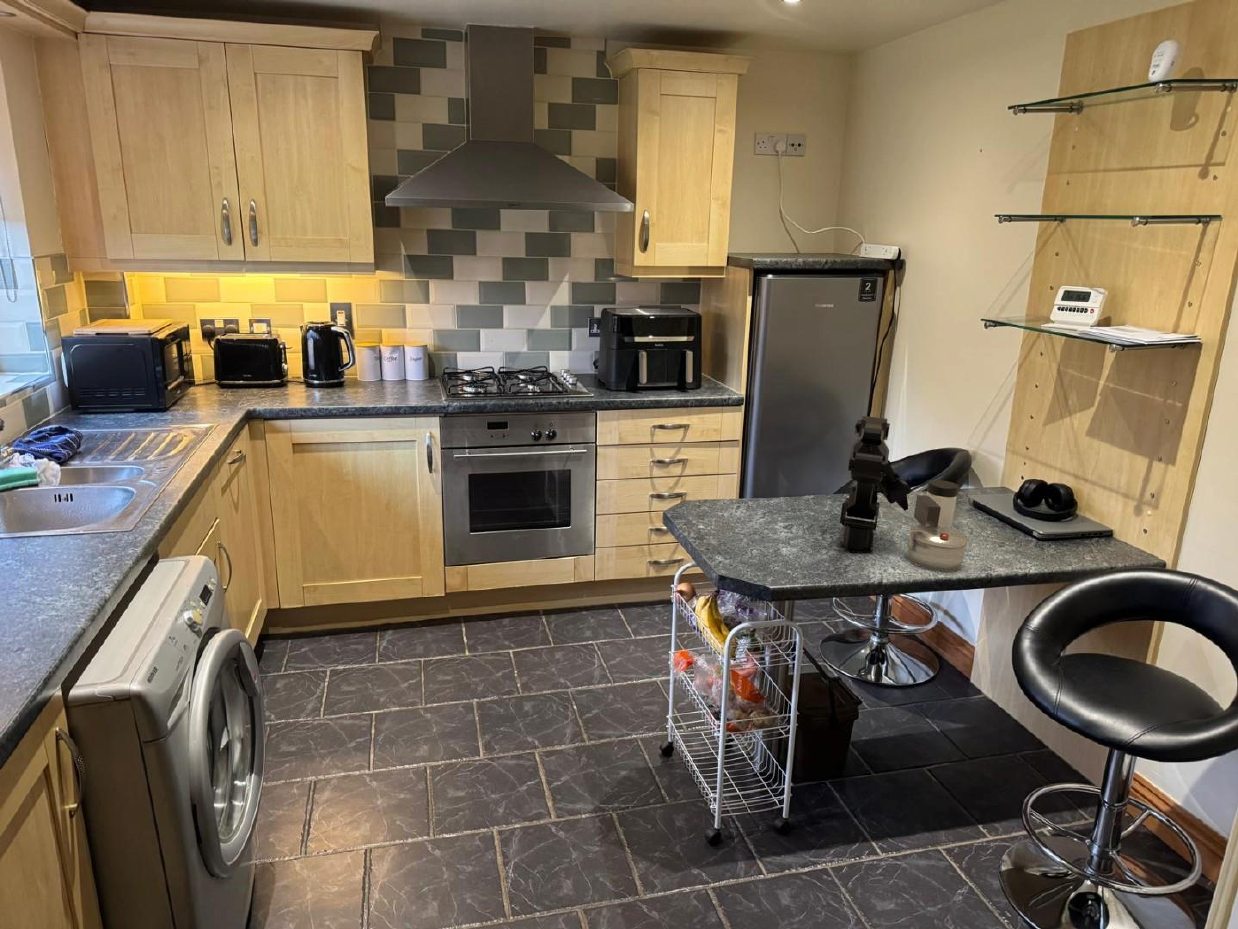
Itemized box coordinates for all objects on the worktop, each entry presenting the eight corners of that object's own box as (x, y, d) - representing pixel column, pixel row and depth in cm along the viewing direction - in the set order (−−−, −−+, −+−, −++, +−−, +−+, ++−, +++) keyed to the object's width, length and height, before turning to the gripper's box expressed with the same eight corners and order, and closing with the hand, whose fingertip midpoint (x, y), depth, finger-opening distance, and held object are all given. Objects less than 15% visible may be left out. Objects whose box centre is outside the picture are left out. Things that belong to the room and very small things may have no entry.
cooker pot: (956, 576, 201) (960, 552, 199) (901, 562, 207) (905, 539, 205) (970, 552, 217) (975, 530, 215) (919, 540, 223) (922, 519, 221)
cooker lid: (975, 549, 201) (980, 525, 199) (919, 546, 201) (923, 521, 199) (944, 519, 222) (948, 497, 220) (893, 516, 222) (897, 493, 220)
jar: (944, 519, 241) (951, 480, 238) (958, 529, 233) (965, 488, 230) (915, 519, 240) (921, 479, 237) (927, 529, 232) (934, 488, 229)
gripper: (840, 469, 226) (870, 514, 229) (856, 488, 208) (888, 538, 211) (877, 446, 224) (906, 492, 227) (895, 464, 206) (927, 514, 209)
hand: (906, 509), depth 218 cm, fingers closed
